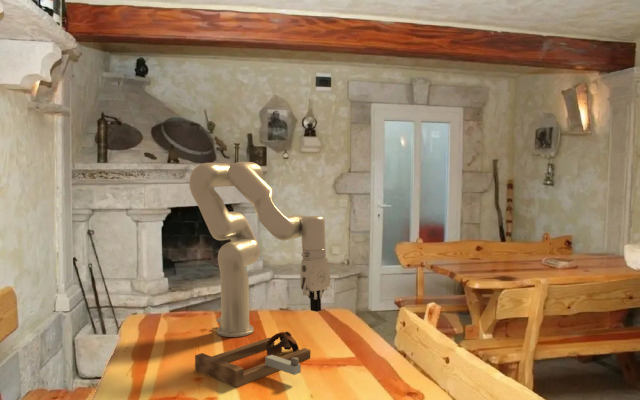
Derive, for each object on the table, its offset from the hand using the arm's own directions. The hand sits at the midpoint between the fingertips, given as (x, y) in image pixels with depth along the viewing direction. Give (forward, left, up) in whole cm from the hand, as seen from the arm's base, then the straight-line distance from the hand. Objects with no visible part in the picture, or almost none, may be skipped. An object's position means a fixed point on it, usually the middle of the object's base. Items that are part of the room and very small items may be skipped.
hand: (315, 310), depth 171 cm
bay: (-1, -25, -11) cm, 27 cm away
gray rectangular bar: (+13, -28, -8) cm, 32 cm away
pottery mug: (+1, -15, -11) cm, 19 cm away
